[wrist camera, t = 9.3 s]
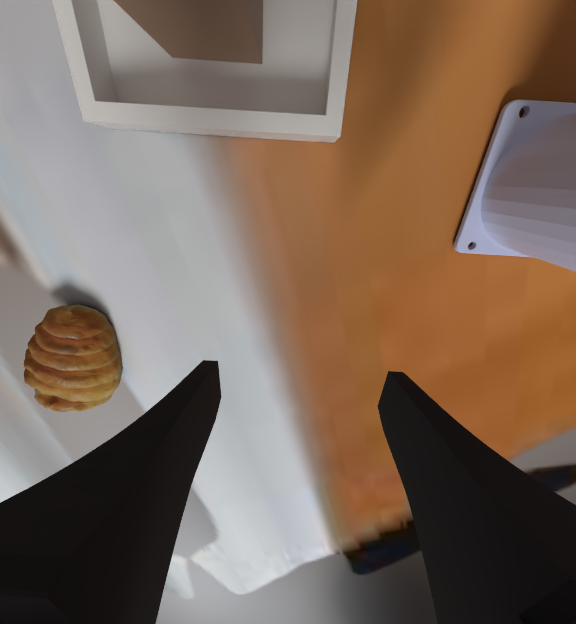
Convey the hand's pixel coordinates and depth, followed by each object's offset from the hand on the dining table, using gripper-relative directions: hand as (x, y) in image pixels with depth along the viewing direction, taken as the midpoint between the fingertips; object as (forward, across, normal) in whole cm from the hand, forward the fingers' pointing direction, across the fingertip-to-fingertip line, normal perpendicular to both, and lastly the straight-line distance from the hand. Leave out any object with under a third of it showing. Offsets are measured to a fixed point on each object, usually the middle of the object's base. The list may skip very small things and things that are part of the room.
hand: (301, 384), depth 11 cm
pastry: (+10, +18, +7) cm, 22 cm away
